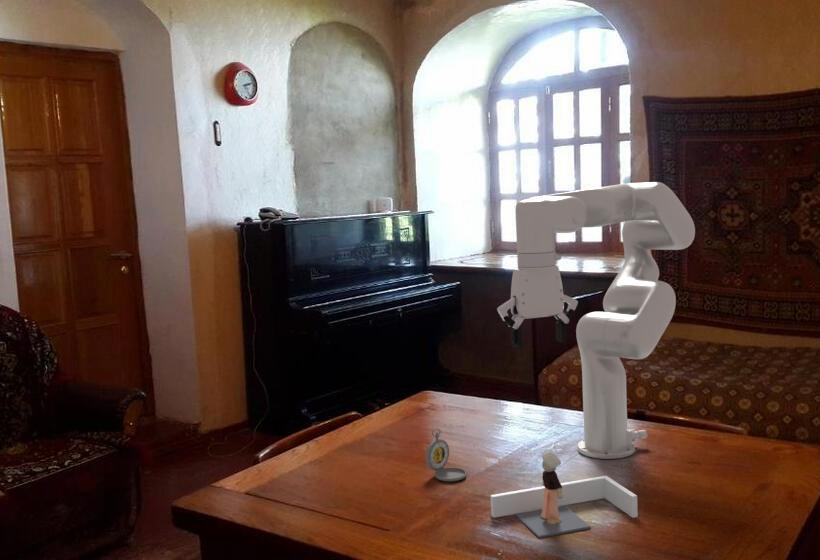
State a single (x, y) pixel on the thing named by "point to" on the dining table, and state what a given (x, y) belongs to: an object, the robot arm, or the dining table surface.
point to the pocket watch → (442, 461)
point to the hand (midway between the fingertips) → (539, 344)
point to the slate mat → (543, 529)
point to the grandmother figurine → (551, 488)
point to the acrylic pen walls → (566, 497)
